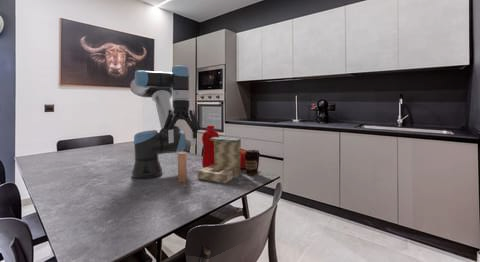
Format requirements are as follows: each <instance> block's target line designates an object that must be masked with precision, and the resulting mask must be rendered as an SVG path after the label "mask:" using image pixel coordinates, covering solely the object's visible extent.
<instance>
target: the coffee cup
mask: <svg viewBox="0 0 480 262" xmlns="http://www.w3.org/2000/svg"><path fill="white" fill-rule="evenodd" d="M260 156H261V152H260V151H259V150H257V149H249V150H246V153H245V167H246V168H245V175H247V176H258V175H259V173H258V172H259V171H258V170H259V165H260Z"/></svg>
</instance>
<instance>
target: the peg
mask: <svg viewBox="0 0 480 262" xmlns="http://www.w3.org/2000/svg"><path fill="white" fill-rule="evenodd" d="M187 173H188V172H187V152H183V151H182V152H177V176H178V177H177V180H178V183H186V182H187V181H188V179H187V178H188V177H187Z"/></svg>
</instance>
